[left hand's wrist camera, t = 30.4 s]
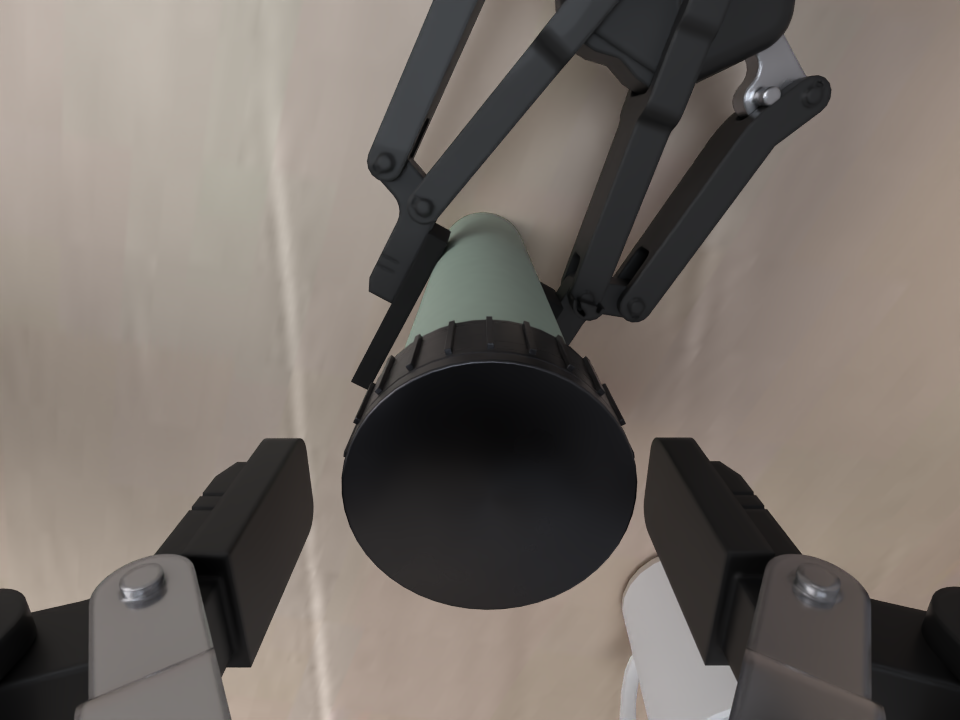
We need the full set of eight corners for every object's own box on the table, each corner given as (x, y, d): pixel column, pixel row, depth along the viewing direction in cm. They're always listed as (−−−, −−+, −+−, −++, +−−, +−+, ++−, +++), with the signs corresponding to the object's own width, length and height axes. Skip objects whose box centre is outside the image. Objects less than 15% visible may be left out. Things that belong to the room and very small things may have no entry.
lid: (391, 281, 10) (371, 316, 8) (653, 353, 10) (691, 402, 8) (339, 506, 11) (312, 579, 10) (565, 559, 12) (581, 637, 10)
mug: (713, 515, 33) (808, 670, 24) (780, 607, 36) (891, 780, 26) (558, 602, 36) (588, 774, 26) (632, 682, 38) (684, 865, 29)
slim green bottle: (523, 210, 27) (609, 348, 9) (525, 293, 28) (602, 552, 11) (437, 214, 27) (357, 360, 9) (444, 297, 28) (385, 560, 11)
